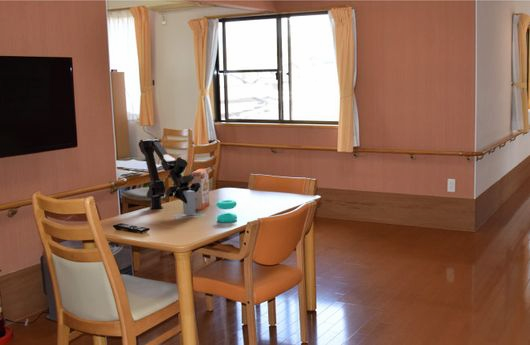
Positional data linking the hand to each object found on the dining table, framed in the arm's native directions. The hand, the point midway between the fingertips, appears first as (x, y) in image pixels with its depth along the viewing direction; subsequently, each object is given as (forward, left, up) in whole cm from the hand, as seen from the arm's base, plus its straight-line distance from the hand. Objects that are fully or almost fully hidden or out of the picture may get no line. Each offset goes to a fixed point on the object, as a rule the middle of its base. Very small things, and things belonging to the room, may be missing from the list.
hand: (190, 202), depth 333 cm
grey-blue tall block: (-1, -1, -6) cm, 7 cm away
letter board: (-1, -1, -8) cm, 8 cm away
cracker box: (-22, +9, -8) cm, 25 cm away
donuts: (+17, +15, -8) cm, 24 cm away
